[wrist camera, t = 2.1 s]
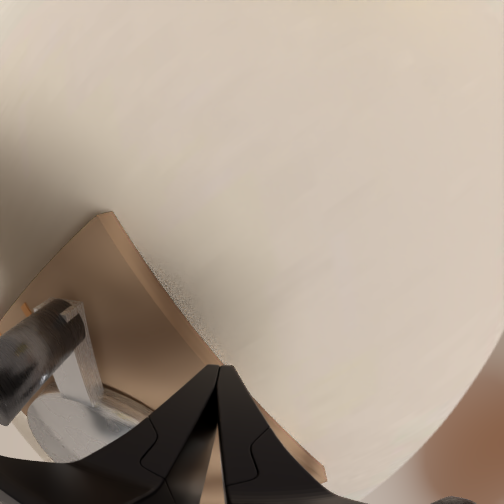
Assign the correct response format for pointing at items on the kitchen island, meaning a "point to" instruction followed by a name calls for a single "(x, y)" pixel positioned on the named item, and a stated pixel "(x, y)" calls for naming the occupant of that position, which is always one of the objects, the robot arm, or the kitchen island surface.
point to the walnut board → (133, 329)
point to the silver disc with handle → (61, 384)
